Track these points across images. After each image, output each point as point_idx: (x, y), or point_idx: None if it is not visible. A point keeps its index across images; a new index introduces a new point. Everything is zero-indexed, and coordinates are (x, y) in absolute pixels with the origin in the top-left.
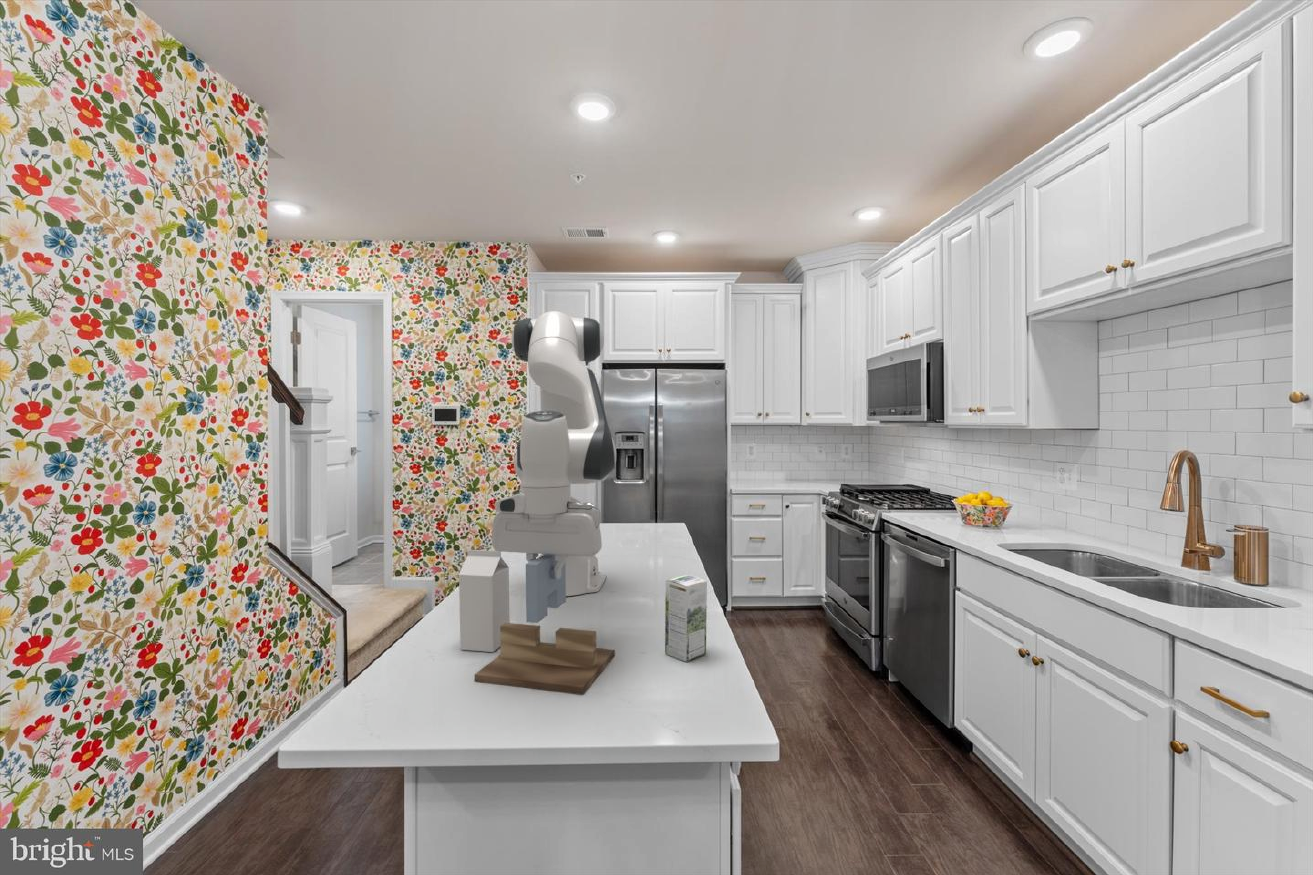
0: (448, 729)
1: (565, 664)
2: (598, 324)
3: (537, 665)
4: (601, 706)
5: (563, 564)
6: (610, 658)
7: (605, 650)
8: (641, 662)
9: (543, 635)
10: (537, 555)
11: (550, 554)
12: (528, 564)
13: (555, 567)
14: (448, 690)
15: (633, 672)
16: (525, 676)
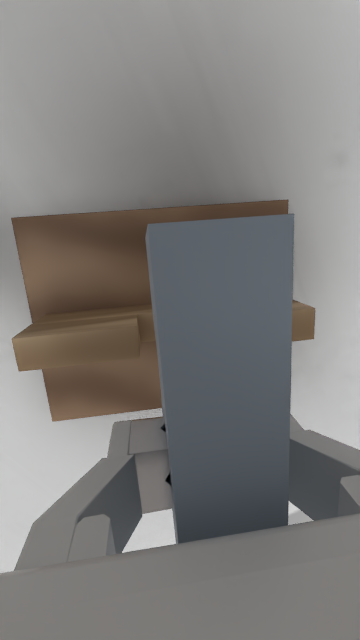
0: (134, 537)
1: None
2: None
3: (153, 341)
4: (322, 408)
5: (336, 445)
6: None
7: (268, 212)
8: (348, 217)
9: (30, 118)
10: (112, 543)
11: (236, 492)
12: None
13: (300, 506)
14: (37, 456)
15: (342, 272)
16: (159, 393)
